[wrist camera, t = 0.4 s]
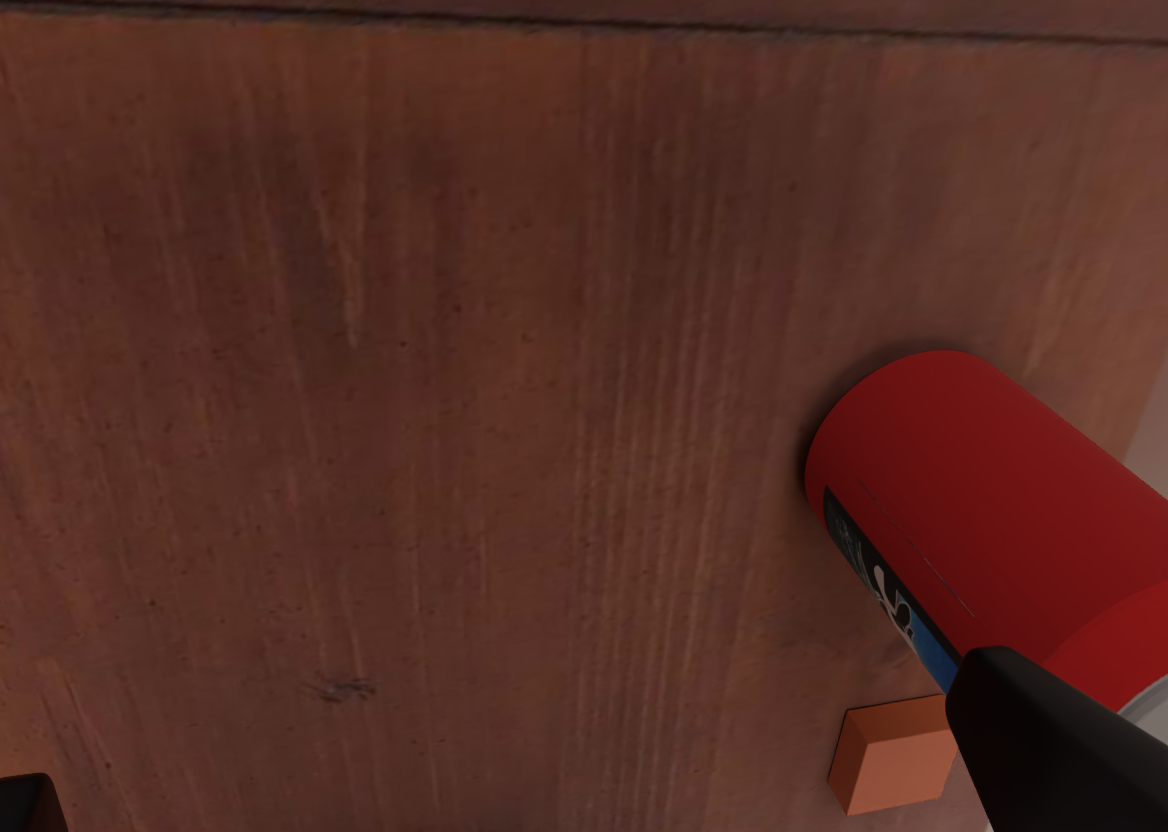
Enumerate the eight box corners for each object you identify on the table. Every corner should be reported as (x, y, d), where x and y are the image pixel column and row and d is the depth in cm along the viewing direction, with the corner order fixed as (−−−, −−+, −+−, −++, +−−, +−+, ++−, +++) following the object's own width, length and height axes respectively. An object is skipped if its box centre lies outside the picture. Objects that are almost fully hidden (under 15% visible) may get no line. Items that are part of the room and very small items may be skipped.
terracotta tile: (918, 764, 38) (940, 798, 37) (827, 781, 37) (846, 817, 36) (942, 693, 36) (966, 726, 35) (846, 710, 35) (867, 744, 34)
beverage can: (759, 518, 29) (993, 875, 19) (845, 319, 26) (1176, 621, 16) (937, 534, 31) (1228, 859, 22) (1036, 352, 28) (1427, 634, 19)
